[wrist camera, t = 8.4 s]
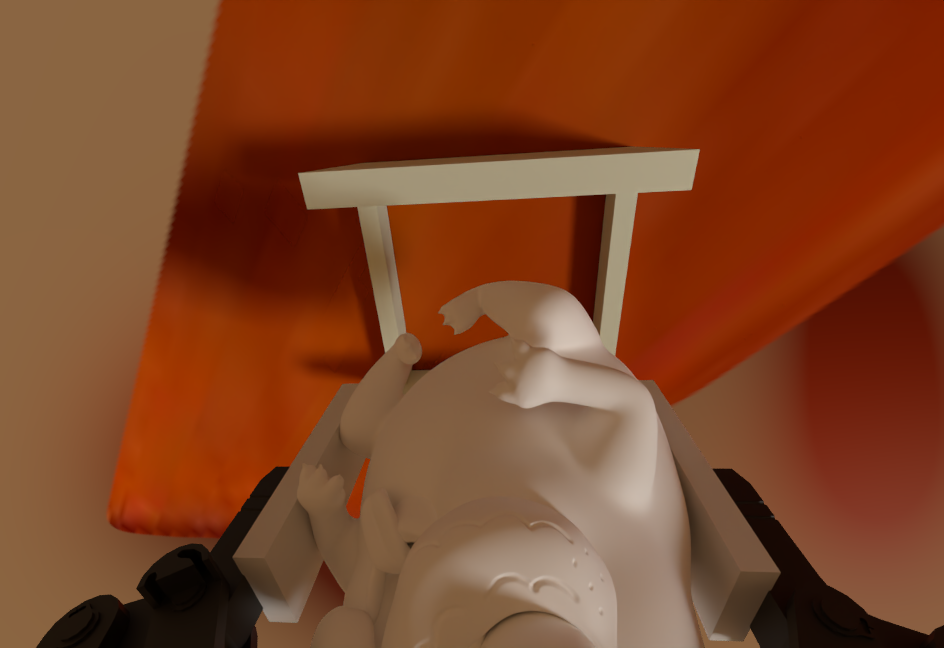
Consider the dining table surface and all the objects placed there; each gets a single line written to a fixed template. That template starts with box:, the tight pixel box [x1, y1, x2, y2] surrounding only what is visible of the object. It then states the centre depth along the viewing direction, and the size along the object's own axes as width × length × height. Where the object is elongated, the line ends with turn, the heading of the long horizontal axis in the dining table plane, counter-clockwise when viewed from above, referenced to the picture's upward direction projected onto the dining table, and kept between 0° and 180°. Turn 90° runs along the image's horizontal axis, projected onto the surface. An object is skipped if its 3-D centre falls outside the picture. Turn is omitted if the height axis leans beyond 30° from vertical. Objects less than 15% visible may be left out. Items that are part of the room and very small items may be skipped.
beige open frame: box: [298, 147, 700, 394], centre depth 22 cm, size 17×16×8 cm
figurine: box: [297, 281, 705, 648], centre depth 10 cm, size 10×10×12 cm
